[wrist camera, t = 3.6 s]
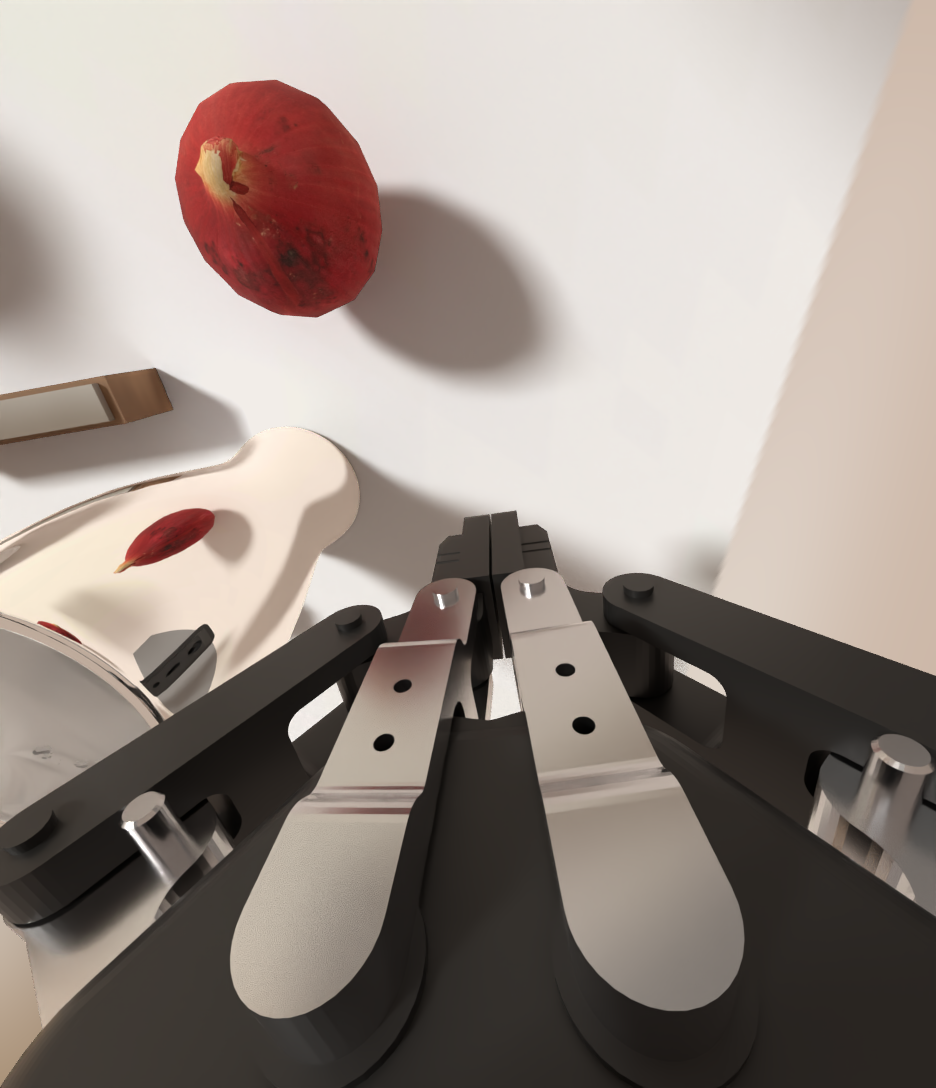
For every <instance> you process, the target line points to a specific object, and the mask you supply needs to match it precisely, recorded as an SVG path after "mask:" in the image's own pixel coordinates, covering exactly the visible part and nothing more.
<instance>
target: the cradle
mask: <svg viewBox="0 0 936 1088" xmlns="http://www.w3.org/2000/svg"><path fill="white" fill-rule="evenodd" d="M171 410H173V408H172V405H171V403H170V401H169V398H168V396H167V394H166V391H165V389H164V387H163V384H162V382H161V380H160V377H159V375H158V373H157V370H156V368H153V369H146V370H139V371H133V372H126V373H119V374H113V375H106V376H100V377H95V378H89V379H84V380H78V381H73V382H68V383H62V384H57V385H51V386H46V387H40V388H35V389H30V390H24V391H19V392H13V393H8V394H3V395H0V445H3V444H8V443H14V442H20V441H26V440H32V439H38V438H43V437H49V436H55V435H61V434H67V433H73V432H79V431H84V430H90V429H96V428H102V427H108V426H114V425H119V424H125V423H129V422H133V421H136V420H140V419H143V418H147V417H150V416H153V415H157V414H160V413H164V412H167V411H171Z"/></svg>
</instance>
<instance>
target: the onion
mask: <svg viewBox="0 0 936 1088" xmlns="http://www.w3.org/2000/svg"><path fill="white" fill-rule="evenodd" d="M175 181H176V186H177V191H178V196H179V200H180V205H181V210H182V215H183V219H184V222H185V224H186V226H187V228H188V230H189V232H190V234H191V236H192V237H193V239H194V241H195V243H196V245H197V247H198V249H199V250H200V252H201V254H202V256H203V258H204V260H205V261H206V262H207V263H208V264H209V265H210V266H211V267H212V268H213V269H214V270H215V271H216V272H217V273H218V274H219V275H220V276H221V277H222V278H223V279H224V280H225V281H226V282H227V283H228V284H229V285H230V286H231V287H232V289H233V290H234V291H235V292H236V293H237V294H238V295H240V296H242V297H244V298H246V299H248V300H250V301H252V302H254V303H256V304H258V305H260V306H262V307H264V308H266V309H268V310H270V311H272V312H274V313H277V314H280V315H290V316H303V317H319V316H322V315H324V314H326V313H328V312H330V311H332V310H334V309H336V308H338V307H341V306H343V305H345V304H347V303H349V302H351V301H353V300H354V299H355V298H356V297H357V295H358V294H359V292H360V291H361V290H362V288H363V287H364V285H365V284H366V282H367V281H368V280H369V278H370V277H371V275H372V274H373V273H374V271H375V266H376V261H377V255H378V250H379V244H380V239H381V234H382V224H381V215H380V206H379V197H378V188H377V184H376V182H375V180H374V178H373V175H372V173H371V171H370V169H369V166H368V164H367V162H366V159H365V157H364V155H363V153H362V150H361V148H360V146H359V144H358V142H357V141H356V140H355V139H354V138H353V136H352V135H351V134H350V133H349V132H348V130H347V129H346V128H345V127H344V126H343V125H342V123H341V122H340V121H339V120H338V119H337V117H336V116H335V115H334V114H333V113H332V112H331V110H330V109H329V108H328V107H327V106H326V105H325V104H324V103H322V102H321V101H320V100H319V99H318V98H316V97H314V96H312V95H309V94H307V93H305V92H303V91H300V90H298V89H296V88H294V87H291V86H289V85H287V84H284V83H282V82H280V81H278V80H267V81H252V82H237V83H231V84H229V85H227V86H226V87H224V88H222V89H221V90H219V91H218V92H216V93H215V94H213V95H212V96H210V97H209V98H207V99H205V100H204V101H202V102H201V103H200V104H199V105H198V107H197V109H196V111H195V113H194V114H193V116H192V118H191V120H190V122H189V124H188V126H187V128H186V130H185V132H184V134H183V136H182V138H181V140H180V147H179V154H178V161H177V168H176V176H175Z"/></svg>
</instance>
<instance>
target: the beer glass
mask: <svg viewBox="0 0 936 1088" xmlns="http://www.w3.org/2000/svg"><path fill="white" fill-rule="evenodd" d="M359 502H360V490H359V484H358V480H357V477H356V474H355V472H354V470H353V468H352V466H351V464H350V462H349V461H348V459H347V458H346V457H345V455H344V454H343V453H342V452H341V451H340V450H339V449H338V448H337V447H336V446H335V445H334V444H332V443H331V442H330V441H328V440H327V439H326V438H324V437H322V436H320V435H319V434H316V433H314V432H312V431H309V430H306V429H302V428H297V427H275V428H271V429H267V430H264V431H262V432H260V433H258V434H256V435H255V436H253V437H252V438H250V439H249V440H248V441H247V442H246V443H245V444H244V445H243V446H242V447H241V448H240V449H239V451H238V452H237V453H236V454H235V455H234V456H233V457H232V458H231V459H230V460H229V459H228V461H227V462H224V463H222V464H218V465H214V466H210V467H205V468H199V469H194V470H189V471H184V472H179V473H175V474H170V475H165V476H161V477H156V478H152V479H148V480H145V481H141V482H137V483H134V484H130V485H127V486H123V487H120V488H116V489H113V490H109V491H107V492H104V493H102V494H99V495H97V496H94V497H92V498H89V499H87V500H84V501H82V502H79V503H77V504H74V505H72V506H69V507H67V508H64V509H62V510H60V511H58V512H55V513H53V514H51V515H49V516H47V517H45V518H43V519H41V520H39V521H37V522H35V523H33V524H31V525H29V526H27V527H25V528H23V529H21V530H19V531H17V532H15V533H13V534H11V535H9V536H7V537H5V538H3V539H2V540H0V827H1V826H3V825H4V824H5V823H6V822H7V821H9V820H10V819H11V818H13V817H14V816H15V815H16V814H18V813H19V812H21V811H22V810H24V809H25V808H27V807H28V806H30V805H32V804H33V803H35V802H36V801H38V800H40V799H41V798H43V797H44V796H46V795H47V794H49V793H51V792H52V791H54V790H55V789H57V788H59V787H60V786H62V785H63V784H65V783H66V782H68V781H70V780H71V779H73V778H74V777H76V776H77V775H79V774H81V773H82V772H84V771H85V770H87V769H89V768H90V767H92V766H93V765H95V764H96V763H98V762H100V761H101V760H103V759H104V758H106V757H107V756H109V755H111V754H112V753H114V752H115V751H117V750H119V749H120V748H122V747H123V746H125V745H126V744H128V743H130V742H131V741H133V740H134V739H136V738H138V737H139V736H141V735H142V734H144V733H145V732H147V731H149V730H150V729H152V728H153V727H155V726H156V725H158V724H160V723H161V722H163V721H164V720H166V719H168V718H169V717H171V716H172V715H174V714H175V713H177V712H179V711H180V710H182V709H183V708H185V707H187V706H188V705H190V704H191V703H193V702H194V701H196V700H198V699H199V698H201V697H202V696H204V695H205V694H207V693H209V692H210V691H212V690H213V689H215V688H217V687H218V686H220V685H221V684H223V683H224V682H226V681H228V680H229V679H231V678H232V677H234V676H236V675H237V674H239V673H240V672H242V671H243V670H245V669H247V668H248V667H250V666H251V665H253V664H254V663H256V662H258V661H259V660H261V659H262V658H264V657H266V656H267V655H269V654H270V653H272V652H273V651H275V650H277V649H278V648H280V647H281V646H283V645H285V644H286V643H288V642H289V640H290V637H291V635H292V632H293V630H294V628H295V625H296V623H297V620H298V618H299V616H300V613H301V611H302V608H303V605H304V602H305V599H306V596H307V593H308V590H309V587H310V583H311V580H312V577H313V574H314V570H315V567H316V564H317V561H318V559H319V556H320V554H321V552H322V551H323V549H325V548H326V547H328V546H329V545H330V544H332V543H333V542H335V541H336V540H337V539H339V538H340V537H341V536H342V535H343V534H344V533H345V532H346V531H347V530H348V529H349V528H350V526H351V525H352V523H353V522H354V520H355V518H356V515H357V512H358V509H359Z"/></svg>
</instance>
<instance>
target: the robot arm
mask: <svg viewBox="0 0 936 1088" xmlns="http://www.w3.org/2000/svg"><path fill="white" fill-rule="evenodd" d="M502 638H503V644H504V650H505V656H506V658H511V657H512V662H513V668H514V675H515V681H516V687H517V692H518V698H519V704H520V709H521V712H518V713H514V714H511V715H508V716H504V717H501V718H498V719H494V720H490V717H491V706H492V695H493V679H492V670H493V659H502V658H503V646H502ZM674 656H675V657H677V658H679V659H681V660H683V661H685V662H687V663H689V664H691V665H693V666H695V667H698V668H699V669H702V670H703V671H706V672H707V673H709V674H711V675H712V676H713V677H715V678H716V679H717V680H718V681H719V682H720V684H721V685H722V686H723V688H724V690H725V692H726V696H727V697H726V696H724V695H722V694H720V693H718V692H716V691H714V690H712V689H710V688H709V687H706V686H705V685H703V684H701V683H699V682H697V681H695V680H693V679H691V678H689V677H687V676H685V675H683V674H682V673H680V672H678V671H676V670H674ZM335 683H337V685H338V688H339V691H340V693H341V696H342V698H343V701H344V702H343V703H341V704H340V705H339V706H337V707H336V708H335V709H334V710H332V711H331V712H330V713H329V714H327V715H326V716H325V717H324V718H322V719H321V720H320V721H319V722H317V723H316V724H315V725H314V726H312V727H311V728H310V729H309V730H307V731H306V732H305V733H303V734H302V735H301V736H300V737H298V738H297V739H296V740H295V741H293V742H291V740H290V738H289V736H288V727H289V723H290V721H291V719H292V718H293V716H294V715H295V714H296V713H297V712H298V711H299V710H300V709H301V708H303V707H304V706H305V705H307V704H308V703H309V702H311V701H312V700H313V699H315V698H316V697H317V696H319V695H320V694H321V693H323V692H324V691H325V690H327V689H328V688H329V687H331V686H332V685H333V684H335ZM0 914H2V915H3V920H4V922H5V924H6V925H7V926H8V927H9V928H11V930H13V931H14V932H15V933H16V934H17V935H18V936H19V937H20V938H21V939H23V940H24V941H25V942H26V946H27V951H28V957H29V962H30V967H31V972H32V977H33V982H34V988H35V993H36V998H37V1003H38V1008H39V1013H40V1019H41V1024H42V1031H41V1032H40V1033H39V1034H38V1035H37V1037H36V1038H35V1039H34V1041H33V1042H32V1043H31V1044H30V1046H29V1047H28V1048H27V1049H26V1051H25V1052H24V1053H23V1054H22V1056H21V1057H20V1059H19V1060H18V1062H17V1063H16V1065H15V1066H14V1067H13V1069H12V1071H11V1072H10V1073H9V1075H8V1076H7V1077H6V1079H5V1080H4V1082H3V1084H2V1085H1V1087H0V1088H936V676H934V675H932V674H929V673H926V672H923V671H920V670H918V669H915V668H912V667H909V666H907V665H903V664H901V663H898V662H895V661H893V660H890V659H887V658H884V657H881V656H879V655H876V654H873V653H870V652H867V651H865V650H862V649H859V648H856V647H853V646H851V645H848V644H845V643H842V642H840V641H837V640H834V639H831V638H829V637H825V636H823V635H820V634H817V633H815V632H812V631H809V630H806V629H803V628H801V627H798V626H795V625H792V624H790V623H787V622H784V621H781V620H778V619H776V618H772V617H770V616H767V615H765V614H762V613H759V612H756V611H753V610H751V609H748V608H745V607H742V606H739V605H737V604H734V603H731V602H728V601H725V600H723V599H720V598H717V597H714V596H712V595H709V594H706V593H703V592H701V591H698V590H695V589H692V588H689V587H687V586H684V585H681V584H678V583H675V582H673V581H670V580H667V579H664V578H662V577H659V576H655V575H651V574H644V573H630V574H624V575H619V576H617V577H614V578H612V579H610V580H609V581H608V582H606V584H605V585H604V587H603V590H602V593H592V592H583V591H579V590H575V589H573V588H570V587H568V586H567V585H566V583H565V581H564V579H563V577H562V576H561V575H560V574H559V573H558V571H557V568H556V564H555V560H554V556H553V553H552V549H551V545H550V542H549V538H548V534H547V531H546V530H544V529H543V528H541V527H540V526H539V525H529V526H522V527H519V526H518V519H517V512H516V511H510V512H502V513H495V514H491V519H490V515H489V514H488V515H481V516H474V517H466V518H464V525H463V533H462V535H455V536H448V537H447V538H446V539H445V540H444V541H443V542H442V543H441V544H440V546H439V550H438V556H437V560H436V564H435V569H434V573H433V578H432V583H430V584H429V585H427V586H425V587H424V588H422V589H421V590H420V591H419V592H418V594H417V595H416V598H415V600H414V603H413V605H412V608H411V610H410V611H409V612H406V613H404V614H401V615H398V616H395V617H391V618H388V619H385V620H383V618H382V615H381V612H380V610H379V609H378V608H376V607H374V606H370V605H356V606H351V607H348V608H345V609H342V610H340V611H337V612H335V613H334V614H332V615H330V616H329V617H327V618H326V619H324V620H322V621H321V622H319V623H318V624H316V625H315V626H313V627H311V628H310V629H308V630H307V631H305V632H303V633H302V634H300V635H299V636H297V637H296V638H294V639H292V640H291V641H289V642H288V643H286V644H285V645H283V646H281V647H280V648H278V649H277V650H275V651H273V652H272V653H270V654H269V655H267V656H266V657H264V658H262V659H261V660H259V661H258V662H256V663H254V664H253V665H251V666H250V667H248V668H247V669H245V670H243V671H242V672H240V673H239V674H237V675H236V676H234V677H232V678H231V679H229V680H228V681H226V682H224V683H223V684H221V685H220V686H218V687H217V688H215V689H213V690H212V691H210V692H209V693H207V694H205V695H204V696H202V697H201V698H199V699H198V700H196V701H194V702H193V703H191V704H190V705H188V706H187V707H185V708H183V709H182V710H180V711H179V712H177V713H175V714H174V715H172V716H171V717H169V718H168V719H166V720H164V721H163V722H161V723H160V724H158V725H156V726H155V727H153V728H152V729H150V730H149V731H147V732H145V733H144V734H142V735H141V736H139V737H138V738H136V739H134V740H133V741H131V742H130V743H128V744H126V745H125V746H123V747H122V748H120V749H119V750H117V751H115V752H114V753H112V754H111V755H109V756H107V757H106V758H104V759H103V760H101V761H100V762H98V763H96V764H95V765H93V766H92V767H90V768H89V769H87V770H85V771H84V772H82V773H81V774H79V775H77V776H76V777H74V778H73V779H71V780H70V781H68V782H66V783H65V784H63V785H62V786H60V787H59V788H57V789H55V790H54V791H52V792H51V793H49V794H47V795H46V796H44V797H43V798H41V799H40V800H38V801H36V802H35V803H33V804H32V805H30V806H28V807H27V808H25V809H24V810H22V811H21V812H19V813H18V814H16V815H15V816H14V817H13V818H11V819H10V820H9V821H7V822H6V823H5V824H4V825H3V826H1V827H0Z"/></svg>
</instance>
